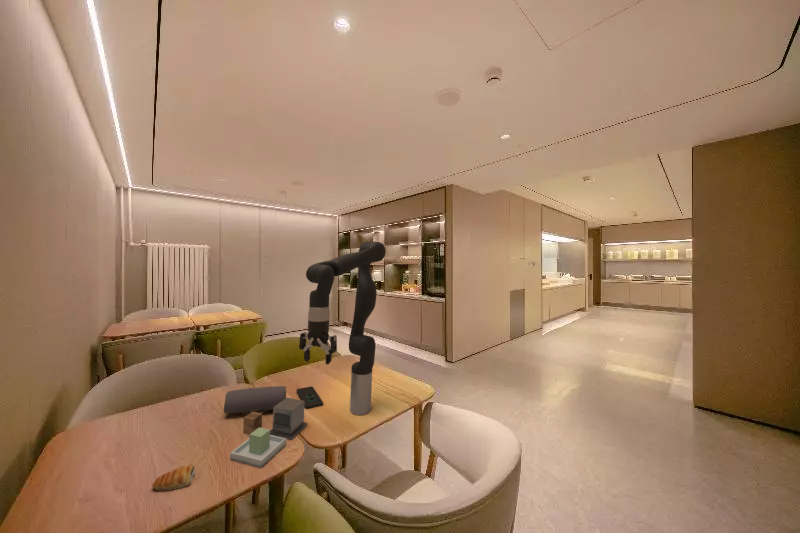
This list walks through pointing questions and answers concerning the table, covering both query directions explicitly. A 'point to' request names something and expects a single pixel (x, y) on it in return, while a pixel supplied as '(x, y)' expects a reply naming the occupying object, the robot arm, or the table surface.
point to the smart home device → (309, 397)
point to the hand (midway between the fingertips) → (317, 362)
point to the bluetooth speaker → (254, 399)
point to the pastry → (175, 478)
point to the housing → (288, 418)
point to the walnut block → (252, 422)
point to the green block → (259, 441)
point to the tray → (245, 457)
